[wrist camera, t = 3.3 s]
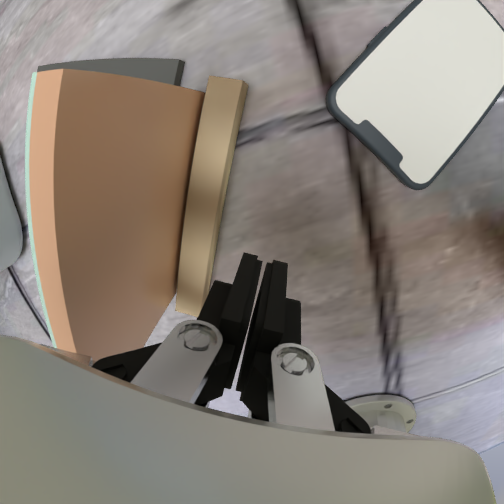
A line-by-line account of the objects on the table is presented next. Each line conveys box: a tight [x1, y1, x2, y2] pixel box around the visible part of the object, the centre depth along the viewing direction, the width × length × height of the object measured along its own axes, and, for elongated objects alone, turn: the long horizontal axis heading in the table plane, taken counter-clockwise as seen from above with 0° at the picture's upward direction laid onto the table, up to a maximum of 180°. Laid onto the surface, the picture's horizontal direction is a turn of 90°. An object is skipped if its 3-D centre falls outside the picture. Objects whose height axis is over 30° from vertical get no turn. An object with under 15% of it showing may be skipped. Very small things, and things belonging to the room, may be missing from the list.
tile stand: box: [175, 76, 248, 317], centre depth 19 cm, size 16×3×2 cm, turn 168°
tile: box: [25, 69, 205, 361], centre depth 13 cm, size 1×14×12 cm, turn 168°
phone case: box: [326, 0, 504, 190], centre depth 13 cm, size 9×2×16 cm
